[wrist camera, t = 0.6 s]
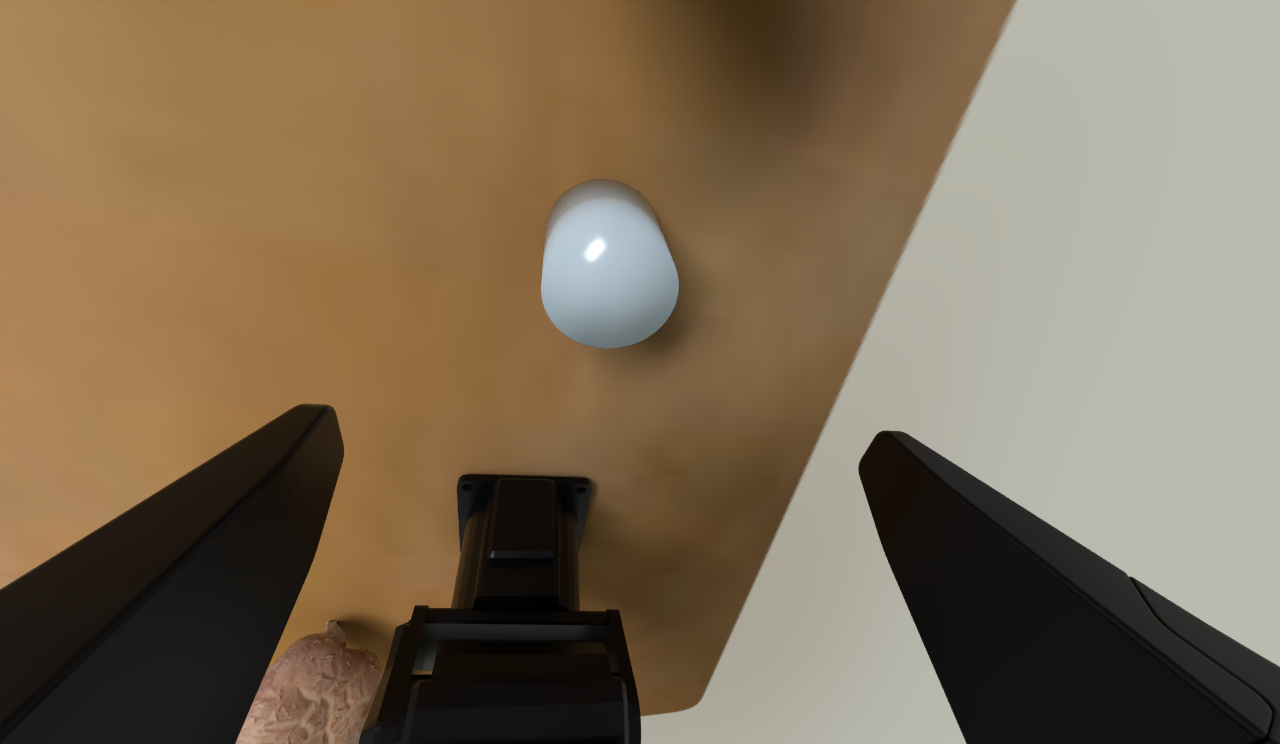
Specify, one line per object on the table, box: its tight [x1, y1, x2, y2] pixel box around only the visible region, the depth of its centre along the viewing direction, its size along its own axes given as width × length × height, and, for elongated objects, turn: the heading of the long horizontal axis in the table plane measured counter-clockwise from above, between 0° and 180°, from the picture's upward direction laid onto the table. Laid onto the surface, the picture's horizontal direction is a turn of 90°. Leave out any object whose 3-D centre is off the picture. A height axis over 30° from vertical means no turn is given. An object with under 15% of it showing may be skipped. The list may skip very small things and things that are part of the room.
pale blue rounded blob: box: [541, 179, 679, 348], centre depth 16 cm, size 4×4×4 cm
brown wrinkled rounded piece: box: [235, 621, 383, 744], centre depth 28 cm, size 8×6×8 cm
